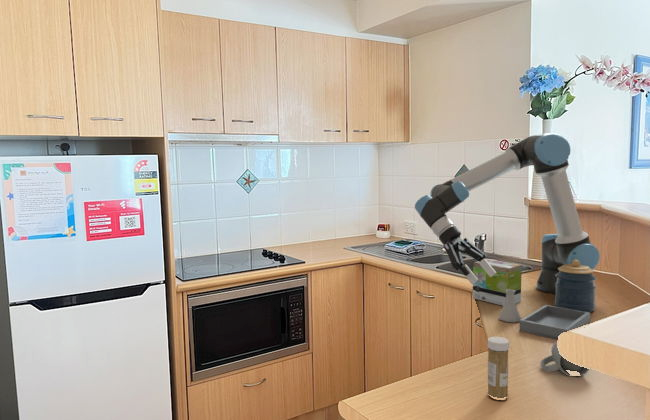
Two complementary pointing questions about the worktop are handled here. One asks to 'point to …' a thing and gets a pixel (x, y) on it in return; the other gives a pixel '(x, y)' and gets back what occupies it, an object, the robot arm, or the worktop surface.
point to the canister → (575, 287)
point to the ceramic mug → (560, 363)
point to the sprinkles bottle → (498, 367)
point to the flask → (510, 308)
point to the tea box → (497, 282)
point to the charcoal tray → (553, 321)
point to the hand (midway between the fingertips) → (484, 278)
